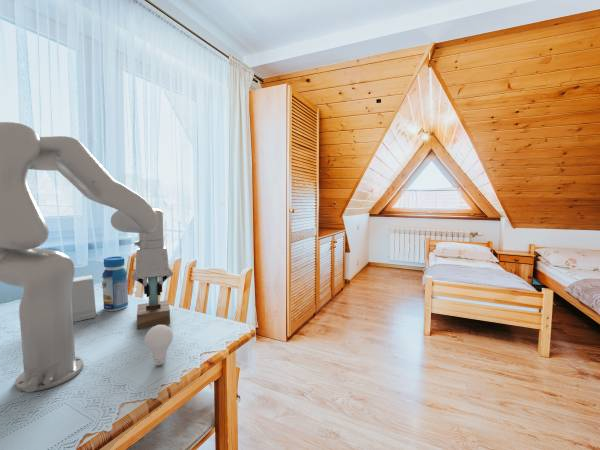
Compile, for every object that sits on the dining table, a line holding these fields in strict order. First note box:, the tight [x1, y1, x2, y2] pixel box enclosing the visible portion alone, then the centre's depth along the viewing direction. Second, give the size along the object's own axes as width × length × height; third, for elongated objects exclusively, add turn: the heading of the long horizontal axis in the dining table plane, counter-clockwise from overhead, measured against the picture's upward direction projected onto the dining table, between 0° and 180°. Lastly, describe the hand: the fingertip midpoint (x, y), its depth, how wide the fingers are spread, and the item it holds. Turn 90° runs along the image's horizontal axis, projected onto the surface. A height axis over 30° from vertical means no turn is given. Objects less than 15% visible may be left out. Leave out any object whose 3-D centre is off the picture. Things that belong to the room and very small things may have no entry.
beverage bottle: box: [101, 256, 129, 312], centre depth 111 cm, size 8×8×20 cm
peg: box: [147, 277, 159, 306], centre depth 100 cm, size 3×3×12 cm
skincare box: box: [72, 274, 97, 323], centre depth 101 cm, size 8×6×15 cm
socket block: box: [136, 300, 171, 330], centre depth 101 cm, size 10×10×5 cm
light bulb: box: [144, 324, 174, 367], centre depth 75 cm, size 7×7×11 cm
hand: (153, 294), depth 100 cm, fingers closed on peg, 3 cm apart
